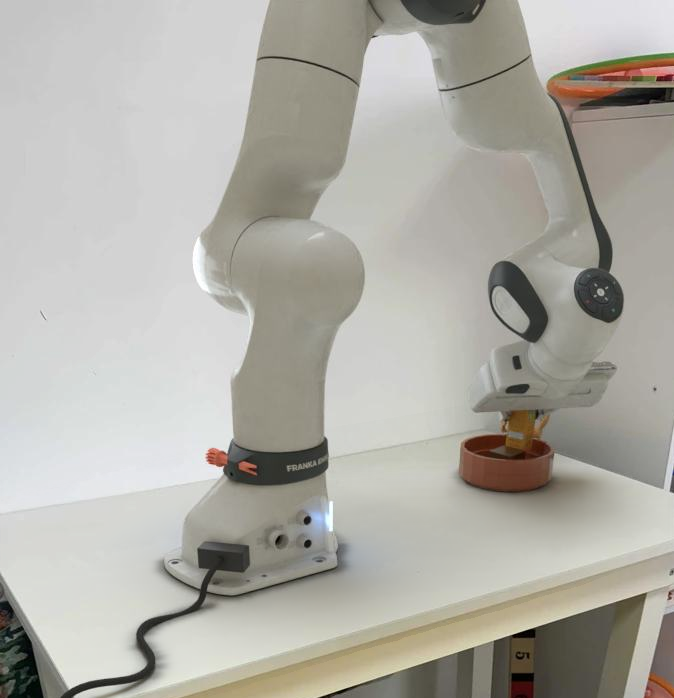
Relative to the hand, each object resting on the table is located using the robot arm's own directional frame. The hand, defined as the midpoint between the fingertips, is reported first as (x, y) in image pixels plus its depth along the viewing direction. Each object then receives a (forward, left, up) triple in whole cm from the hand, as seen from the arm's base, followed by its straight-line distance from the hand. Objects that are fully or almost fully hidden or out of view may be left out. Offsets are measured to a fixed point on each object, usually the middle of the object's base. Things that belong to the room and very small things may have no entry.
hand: (520, 416), depth 135 cm
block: (-4, -1, -8) cm, 9 cm away
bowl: (-4, 0, -9) cm, 10 cm away
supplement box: (0, -1, -6) cm, 6 cm away
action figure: (+9, +6, -9) cm, 14 cm away
